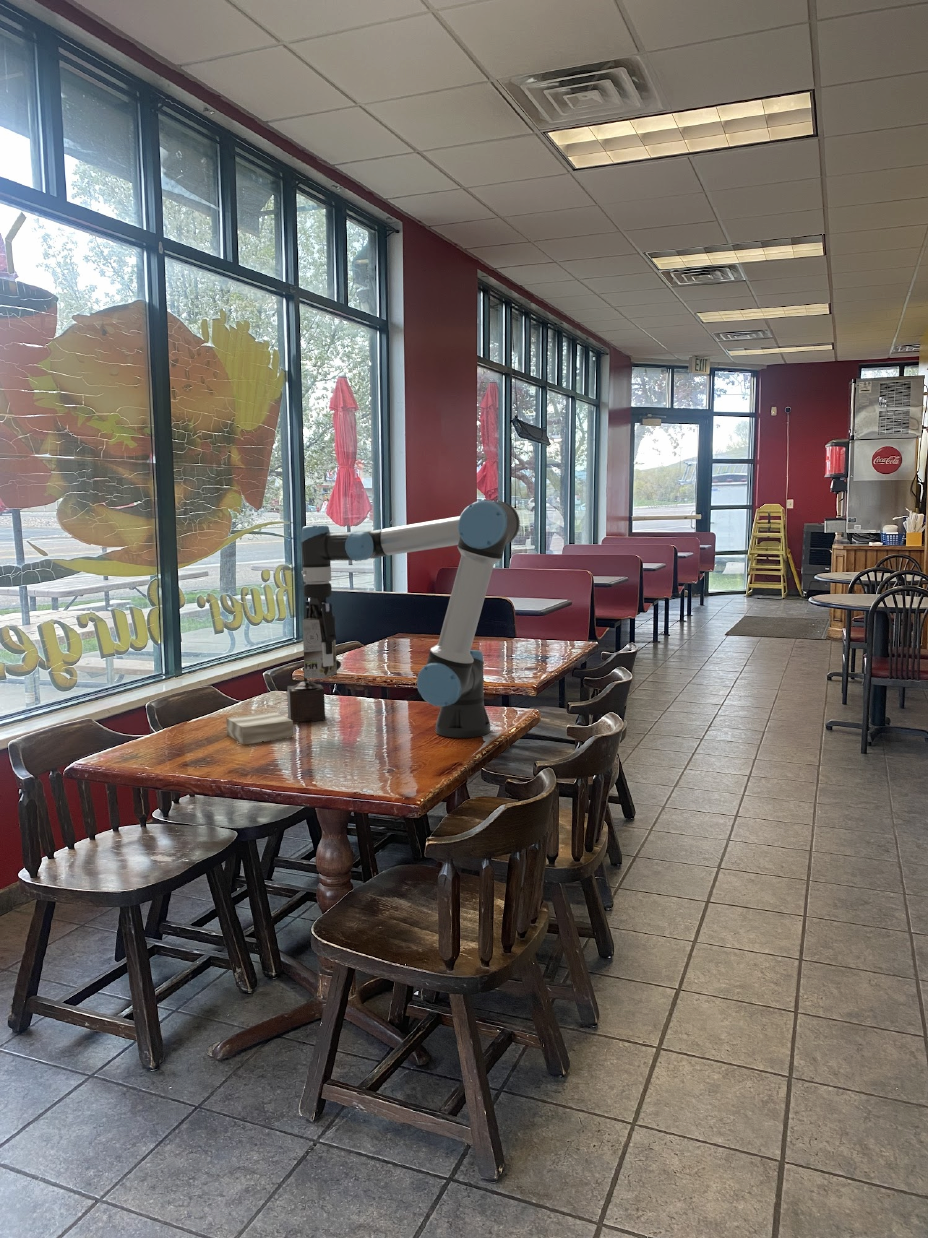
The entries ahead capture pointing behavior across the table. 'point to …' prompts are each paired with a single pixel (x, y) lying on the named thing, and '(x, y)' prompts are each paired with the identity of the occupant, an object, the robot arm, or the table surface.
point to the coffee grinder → (307, 701)
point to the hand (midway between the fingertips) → (320, 663)
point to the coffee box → (316, 650)
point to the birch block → (259, 727)
